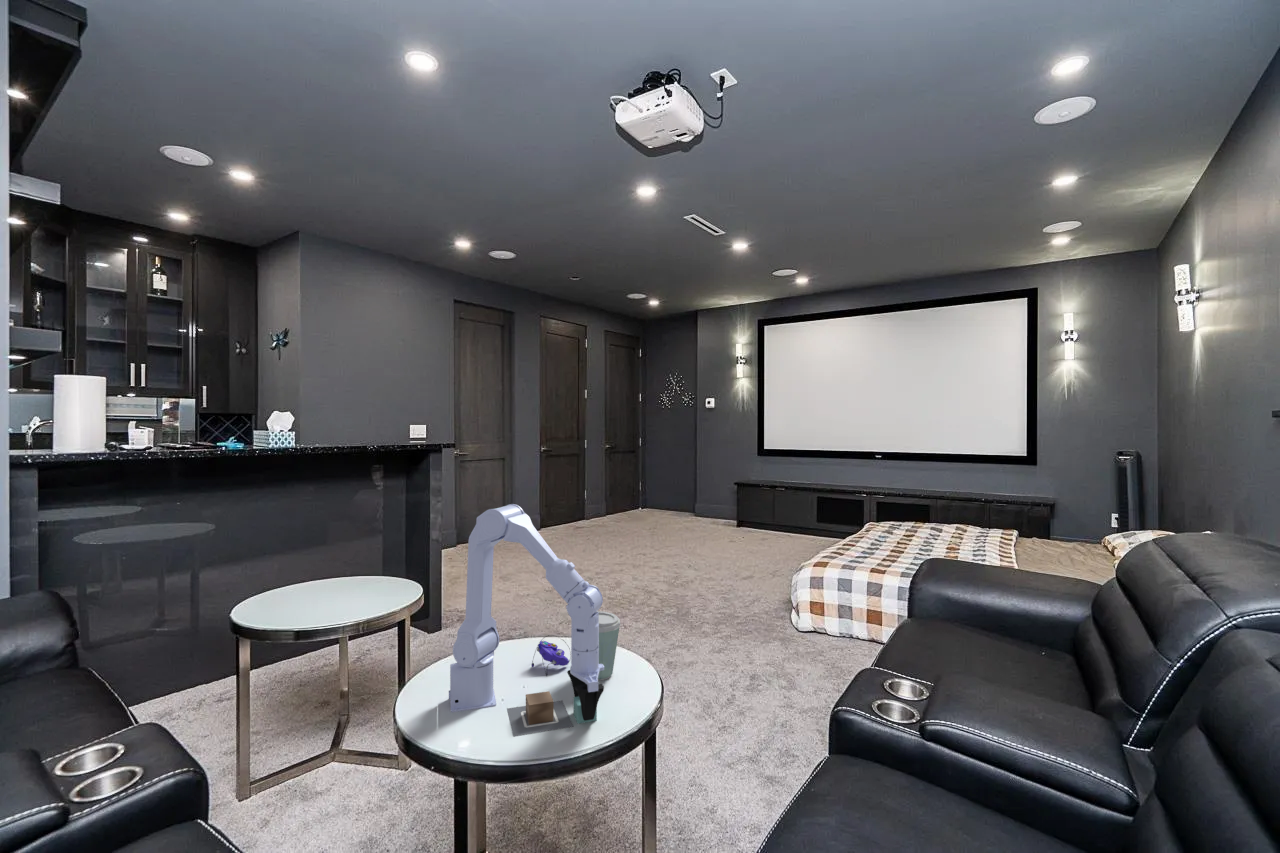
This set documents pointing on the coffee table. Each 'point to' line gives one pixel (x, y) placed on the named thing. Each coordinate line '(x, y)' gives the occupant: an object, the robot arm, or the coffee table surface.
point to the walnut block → (539, 708)
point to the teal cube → (580, 712)
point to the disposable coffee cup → (607, 642)
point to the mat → (523, 727)
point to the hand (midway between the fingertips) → (584, 711)
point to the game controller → (552, 653)
